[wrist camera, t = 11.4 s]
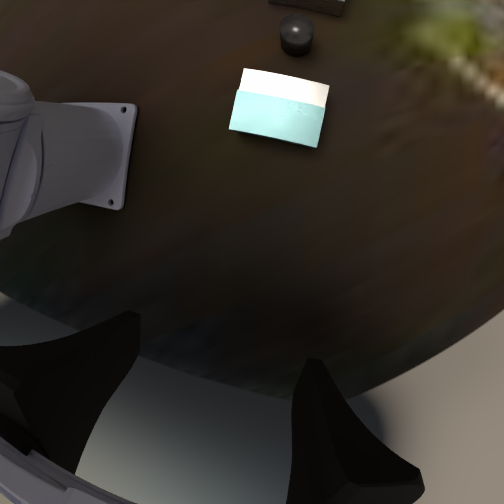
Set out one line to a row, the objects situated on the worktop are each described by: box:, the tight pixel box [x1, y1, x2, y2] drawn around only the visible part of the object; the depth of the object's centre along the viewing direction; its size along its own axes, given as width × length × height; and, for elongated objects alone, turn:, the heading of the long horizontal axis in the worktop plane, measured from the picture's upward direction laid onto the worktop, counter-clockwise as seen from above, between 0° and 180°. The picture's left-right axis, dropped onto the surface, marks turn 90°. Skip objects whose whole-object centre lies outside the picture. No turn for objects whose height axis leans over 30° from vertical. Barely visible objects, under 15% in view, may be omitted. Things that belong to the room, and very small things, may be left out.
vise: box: [229, 0, 345, 149], centre depth 15 cm, size 5×14×3 cm, turn 168°
